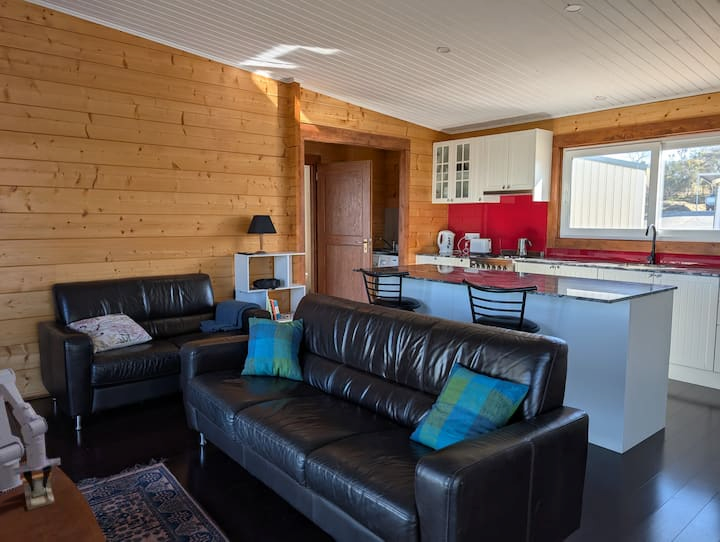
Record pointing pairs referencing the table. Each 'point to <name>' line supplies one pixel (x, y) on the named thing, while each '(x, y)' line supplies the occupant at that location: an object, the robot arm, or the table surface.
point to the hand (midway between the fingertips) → (38, 488)
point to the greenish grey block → (38, 487)
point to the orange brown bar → (34, 478)
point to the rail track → (38, 497)
